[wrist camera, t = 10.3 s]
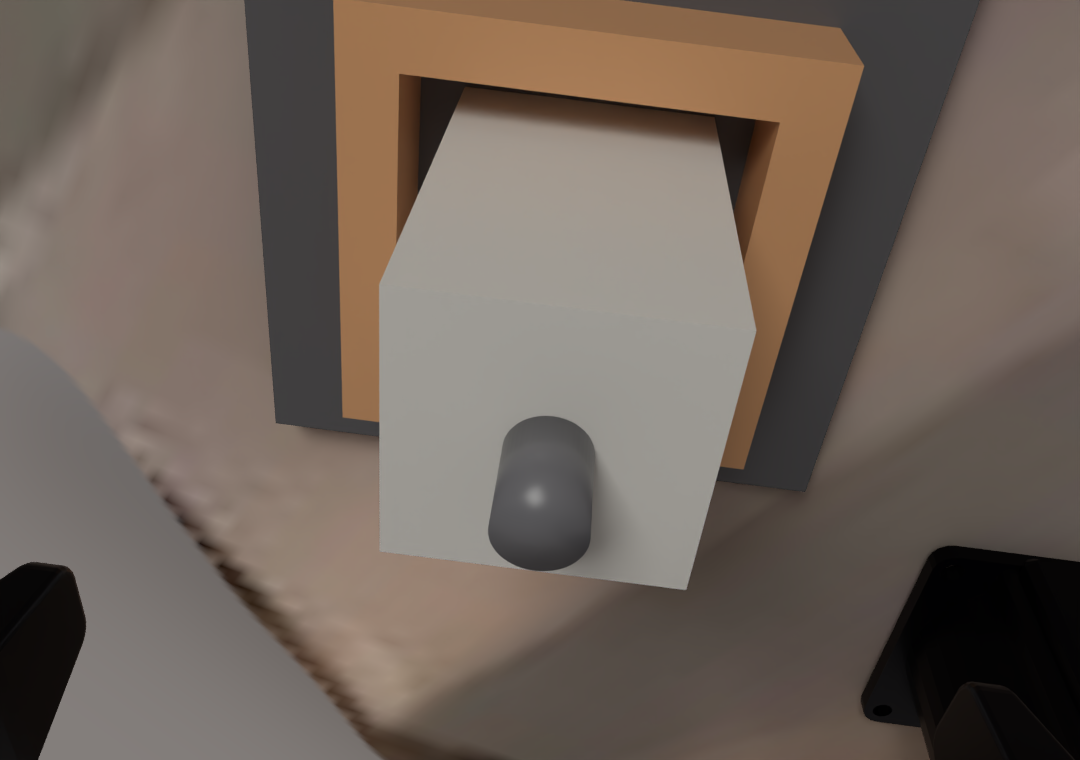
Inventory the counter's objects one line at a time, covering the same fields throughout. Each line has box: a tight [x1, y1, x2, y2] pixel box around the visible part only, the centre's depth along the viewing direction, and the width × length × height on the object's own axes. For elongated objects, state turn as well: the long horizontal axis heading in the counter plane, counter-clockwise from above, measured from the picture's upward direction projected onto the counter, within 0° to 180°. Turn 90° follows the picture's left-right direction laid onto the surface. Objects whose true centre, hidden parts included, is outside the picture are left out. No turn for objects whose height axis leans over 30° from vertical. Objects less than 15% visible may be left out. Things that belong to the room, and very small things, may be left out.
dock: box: [244, 0, 980, 492], centre depth 18 cm, size 12×12×3 cm
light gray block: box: [379, 87, 756, 590], centre depth 15 cm, size 4×4×8 cm
